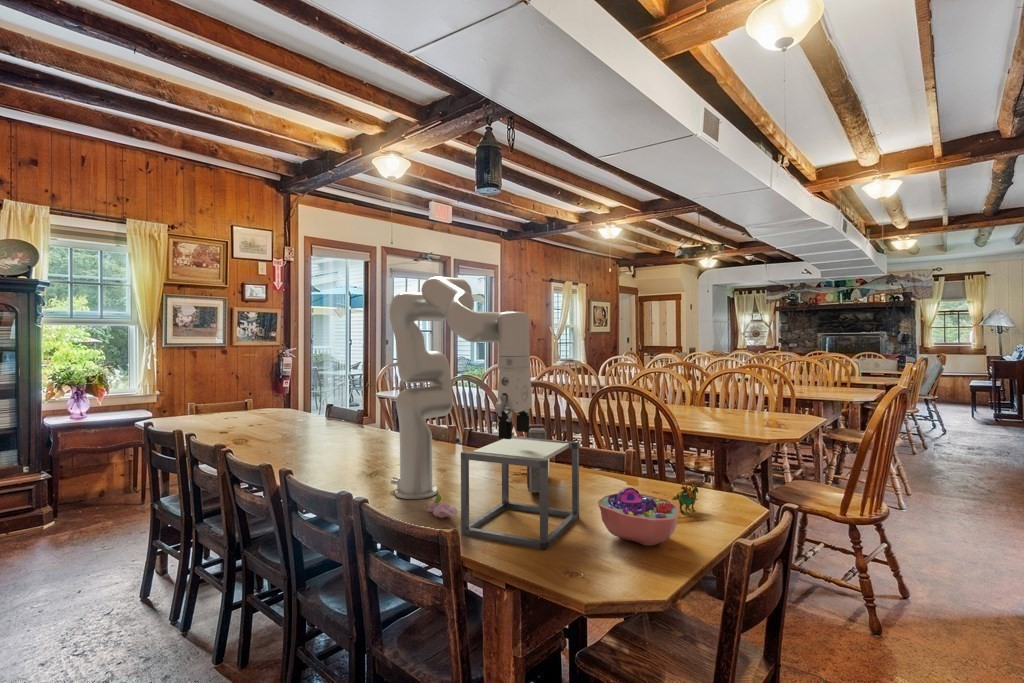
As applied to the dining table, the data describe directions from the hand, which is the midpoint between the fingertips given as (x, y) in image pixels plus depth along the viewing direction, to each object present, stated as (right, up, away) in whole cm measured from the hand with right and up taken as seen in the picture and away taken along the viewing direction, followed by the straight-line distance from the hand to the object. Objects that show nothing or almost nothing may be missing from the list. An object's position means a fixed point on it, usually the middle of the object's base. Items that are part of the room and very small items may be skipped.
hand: (514, 435), depth 126 cm
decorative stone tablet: (+7, -23, +41) cm, 47 cm away
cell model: (+29, -24, -5) cm, 37 cm away
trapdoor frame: (+2, -23, +4) cm, 24 cm away
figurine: (+45, -23, +13) cm, 53 cm away
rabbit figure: (-19, -24, +11) cm, 32 cm away
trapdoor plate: (+2, -5, +4) cm, 7 cm away
